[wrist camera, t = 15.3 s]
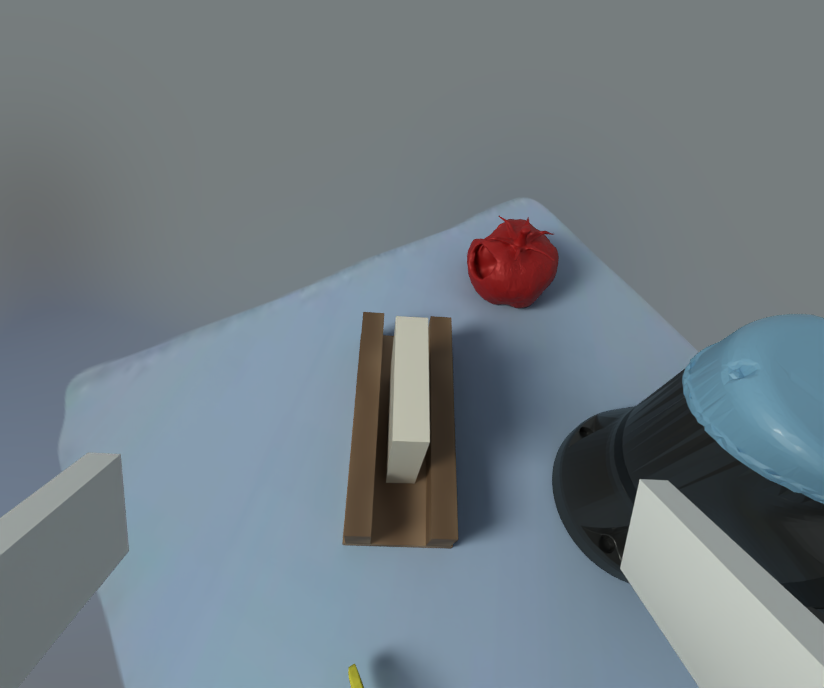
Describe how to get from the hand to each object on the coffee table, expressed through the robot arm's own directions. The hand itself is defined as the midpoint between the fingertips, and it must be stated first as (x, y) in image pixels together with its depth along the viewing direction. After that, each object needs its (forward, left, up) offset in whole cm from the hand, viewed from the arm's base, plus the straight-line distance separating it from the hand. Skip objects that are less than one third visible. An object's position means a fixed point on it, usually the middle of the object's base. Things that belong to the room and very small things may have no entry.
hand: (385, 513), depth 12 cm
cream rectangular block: (-2, -13, -28) cm, 31 cm away
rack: (-2, -13, -29) cm, 32 cm away
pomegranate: (-13, -32, -29) cm, 45 cm away
